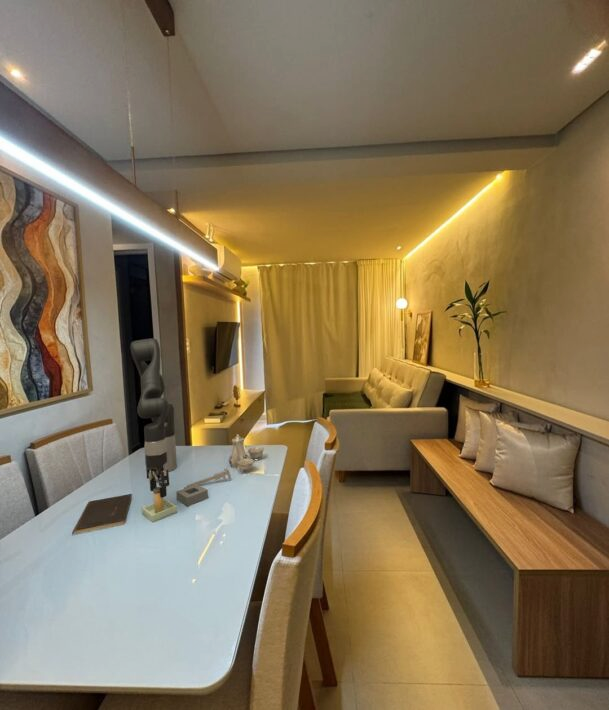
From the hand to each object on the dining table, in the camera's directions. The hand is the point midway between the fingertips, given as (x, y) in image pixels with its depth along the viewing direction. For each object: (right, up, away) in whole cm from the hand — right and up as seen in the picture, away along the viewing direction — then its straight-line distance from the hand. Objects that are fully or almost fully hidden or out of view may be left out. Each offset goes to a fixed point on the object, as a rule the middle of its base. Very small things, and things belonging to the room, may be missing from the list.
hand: (158, 493), depth 129 cm
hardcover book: (-21, -9, +1) cm, 23 cm away
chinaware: (+24, -5, +48) cm, 54 cm away
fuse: (0, -7, 0) cm, 7 cm away
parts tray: (0, -8, 0) cm, 8 cm away
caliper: (+11, -7, +25) cm, 29 cm away
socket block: (+9, -7, +11) cm, 16 cm away
